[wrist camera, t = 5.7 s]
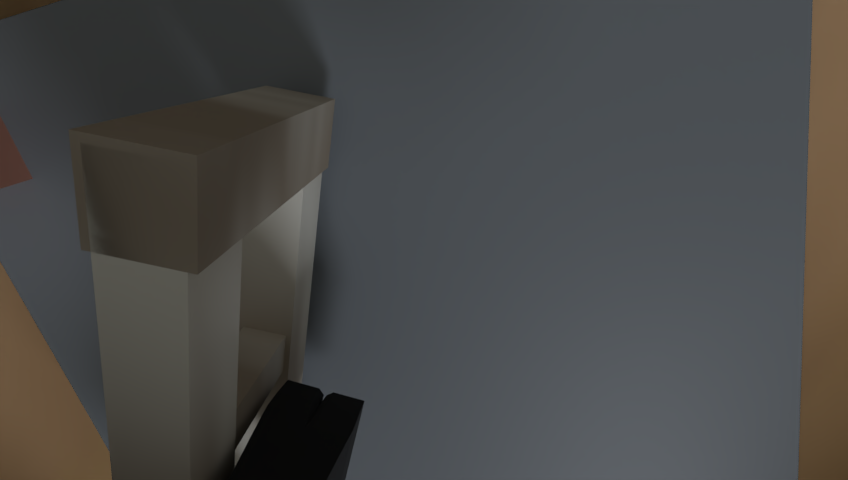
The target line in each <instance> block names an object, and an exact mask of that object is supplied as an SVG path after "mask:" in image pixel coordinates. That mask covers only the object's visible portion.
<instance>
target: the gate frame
mask: <svg viewBox="0 0 848 480" xmlns="http://www.w3.org/2000/svg"><path fill="white" fill-rule="evenodd" d="M811 31H812V0H61V1H58V2H55V3H52V4H49V5H45V6H42V7H39V8H36V9H33V10H30V11H27V12H23V13H20V14H17V15H14V16H11V17H8V18H4V19H1V20H0V262H1V263H2V265H3V267H4V269H5V270H6V272H7V274H8V276H9V277H10V279H11V281H12V283H13V284H14V286H15V288H16V290H17V291H18V293H19V295H20V297H21V298H22V300H23V302H24V303H25V305H26V307H27V309H28V310H29V312H30V314H31V316H32V317H33V319H34V321H35V323H36V324H37V326H38V328H39V330H40V331H41V333H42V335H43V337H44V338H45V340H46V342H47V344H48V345H49V347H50V349H51V350H52V352H53V354H54V356H55V357H56V359H57V361H58V363H59V364H60V366H61V368H62V370H63V371H64V373H65V375H66V377H67V378H68V380H69V382H70V384H71V385H72V387H73V389H74V391H75V392H76V394H77V396H78V397H79V399H80V401H81V403H82V404H83V406H84V408H85V410H86V411H87V413H88V415H89V417H90V418H91V420H92V422H93V424H94V425H95V427H96V429H97V431H98V432H99V434H100V436H101V438H102V439H103V441H104V443H105V444H106V446H107V448H108V450H109V440H108V430H107V419H106V409H105V398H104V388H103V377H102V367H101V356H100V346H99V335H98V325H97V314H96V304H95V293H94V283H93V272H92V262H91V252H88V251H84V250H81V246H80V236H79V227H78V217H77V207H76V198H75V188H74V178H73V169H72V159H71V149H70V140H69V130H68V129H73V128H77V127H82V126H86V125H91V124H95V123H100V122H104V121H109V120H113V119H118V118H122V117H127V116H131V115H136V114H140V113H145V112H149V111H154V110H158V109H163V108H167V107H172V106H176V105H181V104H186V103H190V102H195V101H199V100H204V99H208V98H213V97H217V96H222V95H226V94H231V93H235V92H240V91H244V90H249V89H253V88H258V87H262V86H271V87H276V88H281V89H287V90H292V91H297V92H302V93H307V94H312V95H317V96H322V97H327V98H333V99H335V105H334V115H333V125H332V135H331V145H330V155H329V165H328V168H327V169H326V170H324V171H323V172H322V179H321V190H320V200H319V210H318V221H317V231H316V242H315V252H314V262H313V273H312V283H311V293H310V304H309V314H308V324H307V335H306V345H305V356H304V366H303V376H302V384H305V385H309V386H313V387H316V388H319V389H320V390H321V392H322V393H323V394H324V397H323V400H324V398H325V397H326V395H328V394H331V393H333V392H334V393H338V394H342V395H345V396H349V397H352V398H356V399H360V400H363V401H364V405H363V409H362V413H361V417H360V421H359V426H358V430H357V434H356V438H355V442H354V446H353V450H352V454H351V458H350V463H349V467H348V471H347V475H346V479H345V480H798V463H799V430H800V396H801V363H802V330H803V297H804V263H805V230H806V197H807V164H808V131H809V97H810V64H811ZM109 451H110V450H109Z"/></svg>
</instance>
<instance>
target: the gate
mask: <svg viewBox="0 0 848 480" xmlns="http://www.w3.org/2000/svg"><path fill="white" fill-rule="evenodd" d="M334 105H335V99H333V98H327V97H322V96H317V95H312V94H307V93H302V92H297V91H292V90H287V89H281V88H276V87H271V86H262V87H258V88H253V89H249V90H244V91H240V92H235V93H231V94H226V95H222V96H217V97H213V98H208V99H204V100H199V101H195V102H190V103H186V104H181V105H176V106H172V107H167V108H163V109H158V110H154V111H149V112H145V113H140V114H136V115H131V116H127V117H122V118H118V119H113V120H109V121H104V122H100V123H95V124H91V125H86V126H82V127H77V128H73V129H68V130H69V140H70V149H71V159H72V169H73V178H74V188H75V198H76V207H77V217H78V227H79V236H80V246H81V250H84V251H88V252H91V262H92V272H93V283H94V293H95V304H96V314H97V325H98V335H99V346H100V356H101V367H102V377H103V388H104V398H105V409H106V419H107V430H108V440H109V450H110V461H111V471H112V480H228V479H229V478H230V476H231V474H232V472H233V470H234V468H235V466H236V464H237V462H238V460H239V458H240V456H241V454H242V452H243V451H244V449H245V447H246V445H247V443H248V441H249V439H250V437H251V435H252V433H253V431H254V429H255V428H256V426H257V424H258V422H259V420H260V418H261V416H262V414H263V412H264V411H265V409H266V407H267V405H268V404H269V402H270V401H271V400H272V398H273V397H274V396H275V395H276V393H277V392H278V391H279V390H280V388H281V387H282V386H283V385H284V384H285V383H286V381H287V380H291V381H294V382H298V383H302V376H303V366H304V356H305V345H306V335H307V324H308V314H309V304H310V293H311V283H312V273H313V262H314V252H315V242H316V231H317V221H318V210H319V200H320V190H321V179H322V172H323V171H324V170H326V169H327V168H328V165H329V155H330V145H331V135H332V125H333V115H334Z"/></svg>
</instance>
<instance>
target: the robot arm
mask: <svg viewBox="0 0 848 480" xmlns="http://www.w3.org/2000/svg"><path fill="white" fill-rule="evenodd" d="M323 397H324V394H323V393H322V392H321V390H320V389H319V388H316V387H313V386H309V385H305V384H302V383H298V382H294V381H291V380H287V381H286V383H285V384H284V385H283V386H282V387H281V388H280V390H279V391H278V392H277V393H276V395H275V396H274V397H273V398H272V400H271V401H270V402H269V404H268V405H267V407H266V409H265V411H264V412H263V414H262V416H261V418H260V420H259V422H258V424H257V426H256V428H255V429H254V431H253V433H252V435H251V437H250V439H249V441H248V443H247V445H246V447H245V449H244V451H243V452H242V454H241V456H240V458H239V460H238V462H237V464H236V466H235V468H234V470H233V472H232V474H231V476H230V478H229V479H228V480H345V479H346V475H347V471H348V467H349V463H350V458H351V454H352V450H353V446H354V442H355V438H356V434H357V430H358V426H359V421H360V417H361V413H362V409H363V405H364V401H363V400H360V399H356V398H352V397H349V396H345V395H342V394H338V393H334V392H333V393H331V394H328V395H326V397H325V398H324V400H323Z"/></svg>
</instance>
